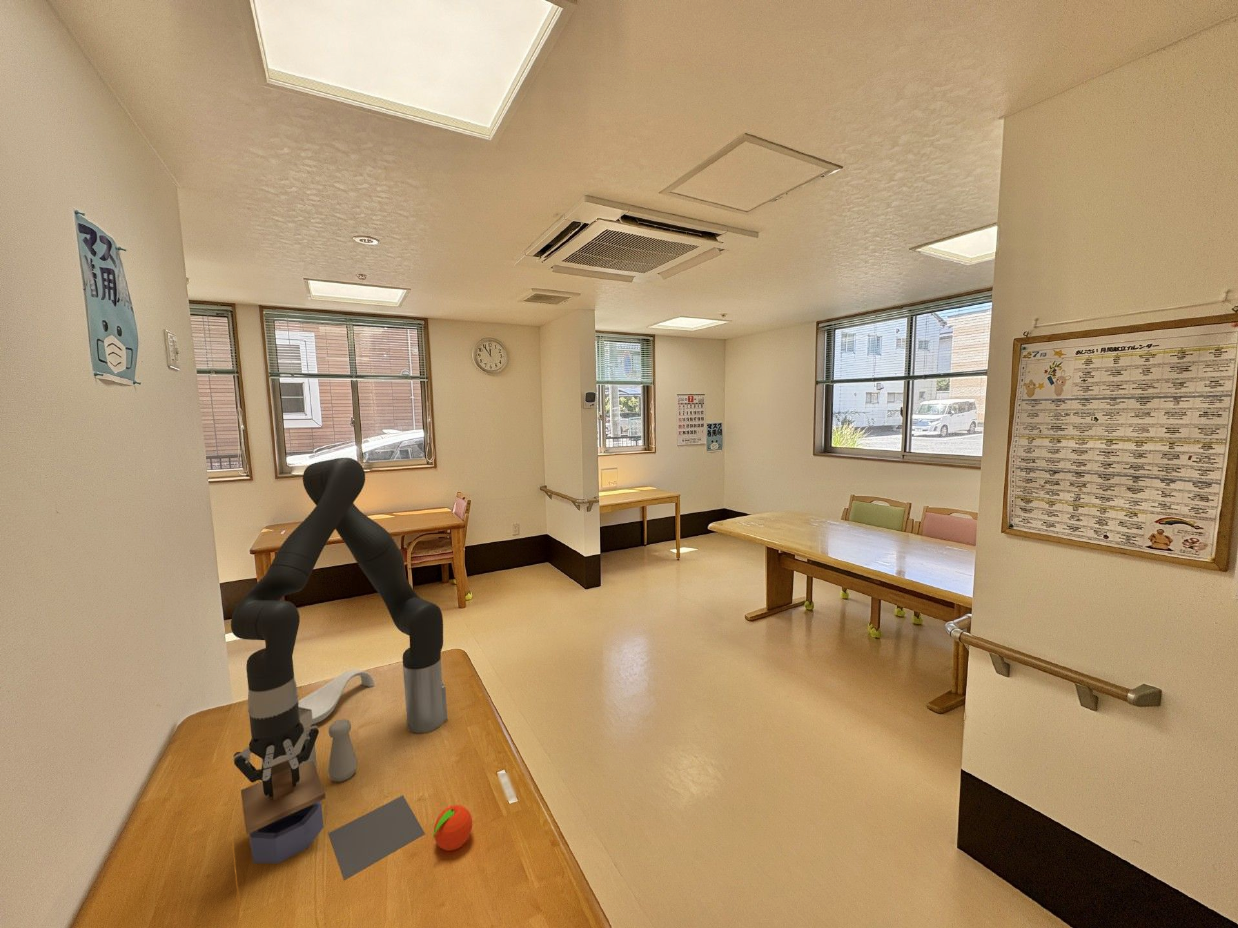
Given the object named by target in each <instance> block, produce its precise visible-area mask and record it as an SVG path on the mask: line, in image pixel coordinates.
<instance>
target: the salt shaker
mask: <svg viewBox="0 0 1238 928" xmlns="http://www.w3.org/2000/svg"><path fill="white" fill-rule="evenodd" d="M351 730H352V724H351V722H350V720H348V719H346V718H342V719H338V720H336V721H333V723H331V724H330V726H329V727H328V735H329V737H330V738H332V741H331V748H330V755H329V760H328V761H329V762H328V770H327V773H328V776H329V778H330V780H331V781H332V782H333V783H337V782H338V783H341V782H344V781H347V780H348V779H351V778H352V777H353V775H354V774H355V773H356V770H357V767H358V760H357V759H358V758H357V756H356V752H355V749H354V746H353V742H352V738H351V736H350V732H351Z"/></svg>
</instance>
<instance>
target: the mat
mask: <svg viewBox="0 0 1238 928" xmlns="http://www.w3.org/2000/svg"><path fill="white" fill-rule="evenodd" d="M425 835H426V832H425V831H424V829H423V828H422V825H421V823H419V820H418V819H417V817H416V815H415V814H414V812H413V810H412V808H411V806H410V804H409V803H408V801H407V800H406V798H405V796H404V795H403V794H402V795H400V796H398V797H396V798H395V799H393V800H391V801H389V802H386V803H385V804H383V805H380V806H379V807H377V808H375V809H373V810H370V811H369V812H368V813H365V814H363V815H361V816H359V817H357V818H356V819H354V820H351V821H350V822H348V823H346V824H344V825H342V826H341V825H340V826H339V827H337V828H336V829H334V830H332V831H330V832H328V837H329V840H330V842H331V845H332V846H331V847H332V849H333V852H334V855H335V857H336V860H337V865H338V866H339V870H340V873H341V876H342V878H343V881H346V880H347V879H350V878H351V877H353V876H355V875H357V874H358V873H360V872H362V871H363V870H365V869H367V868H368V867H370V866H372V865H373V864H376V863H377V862H379V861H381V860H383V859H385V858H386V857H388V856H389V855H391V854H393V853H394V852H396V851H398V850H400V849H402V848H403V847H405V846H407V845H408V844H410V843H412V842H414V841H415V840H418V839H419V838H421V837H423V836H425Z"/></svg>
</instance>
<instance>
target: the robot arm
mask: <svg viewBox="0 0 1238 928" xmlns="http://www.w3.org/2000/svg"><path fill="white" fill-rule="evenodd" d="M365 484H366V472H365V469H364V468H363V465H362V464H361V463H360V462H359V461H358V460H356V459H354V458H352V457H337V458H331V459H328V460H321V461H318V462H314V463H311V464H309V465H308V466H307V467H305V470H304V471H303V473H302V485H303V487H304V490H305V492H306V493H307V495H308V497H309V498H310V499H311V501H312V502H313V503H314V505H315V507H314V508H313V509H312V511H310V513H309V514H308V516H307V517H306V518H305V519H304V520H302V522H301V523H299V525H298V526H297V527H296V528H295V529H293V531H292V532H290V534H289V535H288V536H287V538H286V539H285V540H284V541H283V543H282V544H281V546H280V547H279V549H278V550H277V553H276V554H275V556H274V558H273V560H272V561H271V563H270V566H269V567H268V569H267V571H266V573H265V574H264V576H263V577H262V578H261V579H259V580H258V582H257V583H256V584H255V585H254V586H253V587H252V588H251V589H250V591H249V592H247V594H246V595H245V596H244V597H243V598H242V599H241V600H240V601H239V603H238V604H237V606H236V607H235V609H234V611H233V613H232V615H231V619H230V629H231V632H232V634H233V636H235V637H236V638H237V639H242V640H245V641H246V640H248V641H249V640H250V641H265V647H264V648H261V649H259V650H257V651H254V653H252V654H250V655H249V657H248V658H247V660H246V666H245V667H246V669H245V670H246V676H247V677H246V678H247V686H248V687H247V689H248V690H247V691H248V694H247V706H248V707H247V708H248V709H247V710H248V715H249V716H248V717H249V725H250V733H251V734H250V736H251V738H250V741H249V743H248V746H247V747H246V748H244V749H243V750H242V751H237V752H235V753H234V754H233V755H232V756H233V763H234V766H236V768H237V769H238V770H239V771H240V772H241V774H243V776H245V778H246V779H247V780H248V781H249V782H250V783H251V784H252V783H257V781H261V782H263V791H264V794H265V796H267V795H269V797H272V796H273V787H272V778H271V767H272V762H273V760H274V759H276V758H277V757H279V756H283V755H287V757H288V759H289V762H290V767H291V775H292V786H293V787H295V786H296V783H297V782H299V780H300V775H299V765H300V764H301V763H302V762H303V761H307V760H308V759H309V757H310V754H311V752H312V749H313V747H314V744H315V745H316V741H317V739H318V736H319V733H320V730H319V728H318V725H317V723H316V724H312V725H311V726H310V727H303V725H302V724H301V723H300V716H299V705H298V701H299V693H298V687H297V681H296V678H295V670H294V660H293V654H294V649H295V645H296V642H297V641H296V640H297V636H298V631H299V626H300V620H301V618H300V617H301V616H300V612H299V610H298V607H296V605H295V604H294V603H292V602H291V601H288V600H282V599H283V598H284V597H285V596H287V595H290V594H295V593H299V592H300V591H302V590H303V589H304V588H305V586H306V585H307V583H308V580H309V579H310V577H311V576H312V573H313V571H314V568H315V566H316V564H317V562H318V559H319V558H320V555H321V553H322V552H323V550H324V548H325V546H326V544H327V542H328V541H329V539H330V538H331V536H332V535H333V533H334V532H335V531H336V532H337V534H338V535H339V537H340V538H341V540H342V541H343V543H344V544H345V545H346V547H347V548H348V550H349V551H350V553H351V554H352V557H353V558H354V560H355V561H356V563H357V564H358V566H359V568H360V569H361V571H362V573H363V574H364V575H365V576H366V578H367V579H368V580H369V582H370V584H371V585H372V586H373V587H374V590H375V591H377V593H378V595H379V596H380V598H381V599H382V601H383V603H384V605H385V607H386V609H387V611H388V613H389V615H390V617H391V620H392V621H393V623H394V625H395V627H396V628H397V630H399V631H400V632H401V633H402V634H405V635H407V636H409V647H408V648H407V649H405V650H404V652H403V653H402V671H403V673H402V674H403V683H404V686H403V687H404V696H405V697H404V698H405V712H406V724H407V725H406V727H407V730H408V731H409V732H410V733H413V734H424V733H429V732H431V731H434V730H436V729H438V728H439V727H440V726H441V725H442V724H443V723H444V722H446V721H448V706H447V705H448V704H447V689H446V685H445V684H444V682H443V669H442V656H441V655H442V653H441V652H442V649H443V647H444V619H443V613H442V609H441V608H440V607H439V605H437V604H436V603H433V602H431V601H428V600H425V599H423V598H422V597H420V596H419V595H418V594H417V593H416V591H415V590H414V588H413V587H412V585H411V584H410V582H409V580H408V578H407V574H406V567H405V566H406V565H405V561H404V556H403V553H402V551H401V550H400V549H399V546H398V544H397V542H396V541H395V540H394V538H393V536H392V535H391V533H390V532H388V530H386V529H385V527H383V526H382V525H380V524H379V523H377V522H376V521H375V520H373V519H372V518H371V517H369V516H368V515H367V514H364V512H362V511H361V510H360V509H359V508H358V507H357V506H356V504H355V503H354V502H355V501H356V499H357V498H358V497H359V495H360V494H361V492H362V490H363V488H364V486H365ZM302 734H304V738H305V741H304V743H303V746H302V749H301V751H300V753H299V754H298V755H296V754H295V751H294V747H295V745H296V744H297V742H298V740H299V739H300V737H301V735H302ZM252 754H253V755H255V756H257V757H259V758H260V759H261V758H262V760H261V768H260V769H257V768H256V767H255V766H254V765H253V764H252V763H251V762H250V761H251V755H252Z"/></svg>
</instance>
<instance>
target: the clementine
mask: <svg viewBox="0 0 1238 928" xmlns="http://www.w3.org/2000/svg"><path fill="white" fill-rule="evenodd" d="M472 829H473V817H472V815H471V813H470V811H469V809H467V808H466V806H465V807H464V806H463V805H461V804H454V805H450V806H448V807H446V808H444V809H443V810H442V811H441V813H440V814H439V815H438V817H437V819H436V821H435V823H434V827H433V836H432V841H435V843H436V844H437V846H438V848H440V849H443V850H444V851H448V852H450V851H455V850H458V849H460V848H461V847H463V846H464V845H465V843H466V842H467V841H468V840H469V838H470V835H471V833H472Z"/></svg>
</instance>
